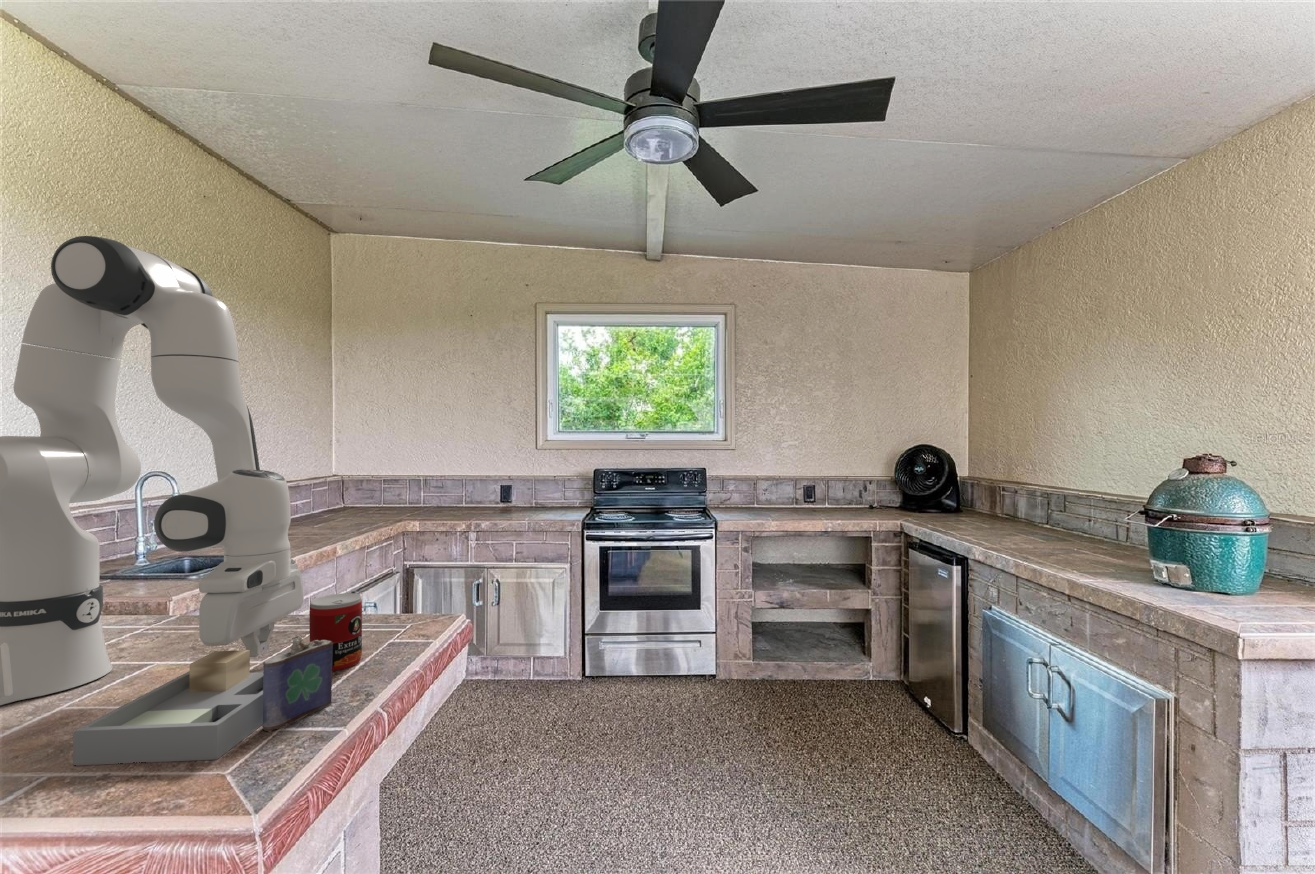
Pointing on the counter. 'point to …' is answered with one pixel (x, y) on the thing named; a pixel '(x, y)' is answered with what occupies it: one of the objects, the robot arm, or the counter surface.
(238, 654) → the maple block
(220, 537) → the robot arm
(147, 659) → the counter surface
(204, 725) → the grey compartment tray
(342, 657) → the canned food
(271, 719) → the flask
